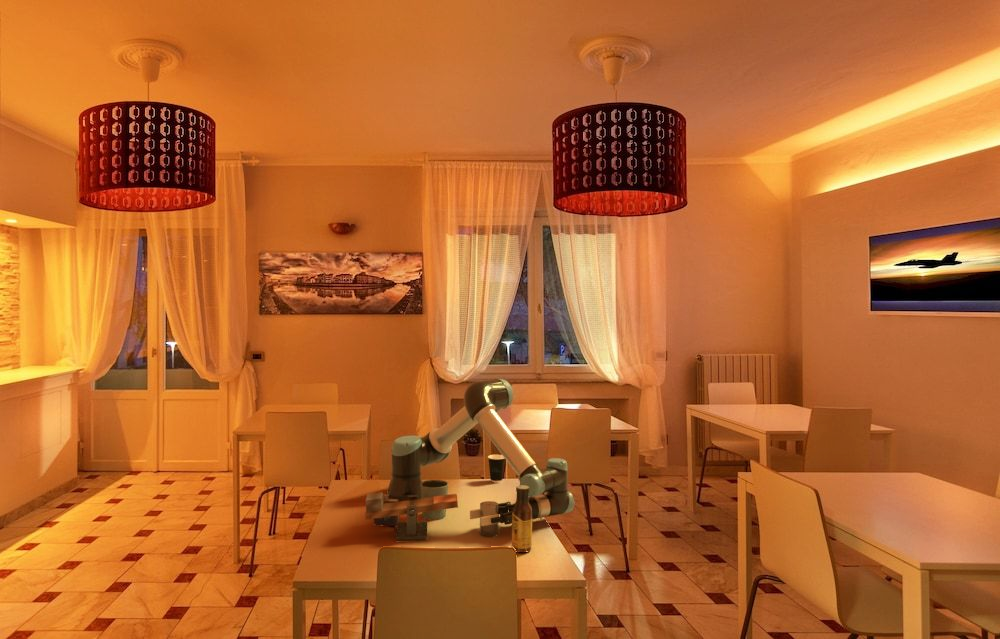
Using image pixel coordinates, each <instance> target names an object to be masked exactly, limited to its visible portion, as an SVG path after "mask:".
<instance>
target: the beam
mask: <svg viewBox="0 0 1000 639" xmlns="http://www.w3.org/2000/svg"><path fill="white" fill-rule="evenodd" d="M383 497H384V492H383V491H382V492H375V493H374V492H373V493H367V495H366V498H365V512H364V516H365V518H364V519H365V520H374V518H381V517H389V516H397V515H399V516H402V515H403V516H404V515H407V505H417V507H416V513H417V514H418V513H422V512H427V511H435V510H443V509H446V510H450V509H456V508H459V503H458V495H457V493H452V494H451V493H450V494H447V495H442V496H434V497H432V498H424V499H416V500H414V499H411V500H408V501H399V502H393V503H385V504H384V499H383Z"/></svg>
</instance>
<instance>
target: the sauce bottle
mask: <svg viewBox="0 0 1000 639" xmlns="http://www.w3.org/2000/svg"><path fill="white" fill-rule="evenodd" d="M515 491H516V499H515V500H516V501H515V505H514V508H513V511H512V523H511V547H512V546H513V547H514V548H515V549H516V551H517V552H526V551H530V552H531V550H532V545H533V542H532V541H533V520H532V507H531V505H530V504H529V502H528V501H529V499H528V498H529V487H528V486H525V485H520V484H519V485H517V486H516V489H515ZM517 552H516V553H517Z"/></svg>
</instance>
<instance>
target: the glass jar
mask: <svg viewBox="0 0 1000 639" xmlns="http://www.w3.org/2000/svg"><path fill="white" fill-rule="evenodd" d="M498 504H499V502H497V501H491V500H489V501H488V500H486V501H482V502H481V503H479V509H480V518H479V535H480V537H484V538H494V537H493V536H495V537H496V535H497V534H498V535H499V523H496V524H491V525H485V526H481V517H484V516H490V515H495V514H498ZM498 535H497V536H498Z"/></svg>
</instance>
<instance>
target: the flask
mask: <svg viewBox="0 0 1000 639" xmlns="http://www.w3.org/2000/svg"><path fill="white" fill-rule="evenodd" d="M388 496H389V494H387V493H385V494H384V493H383V499H384V504H385V503H393V502H400V501H399V500H397V499H388ZM399 516H400V515H397V516H389V517H381V518H374V519H373V525H374V524H375V525H374V526H378V525H383V526H382V527H387V526H394V528H396V527H395V526H398V522H399V518H400V517H399Z"/></svg>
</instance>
